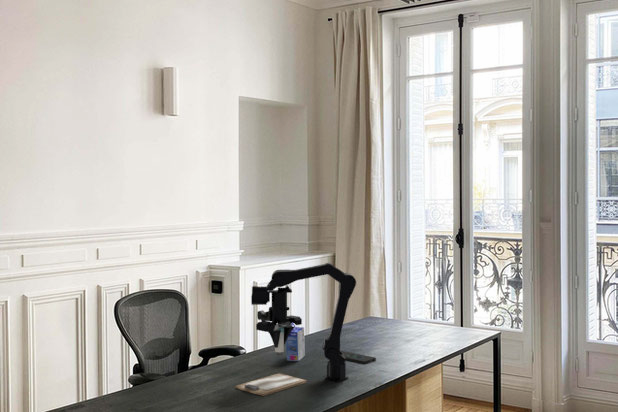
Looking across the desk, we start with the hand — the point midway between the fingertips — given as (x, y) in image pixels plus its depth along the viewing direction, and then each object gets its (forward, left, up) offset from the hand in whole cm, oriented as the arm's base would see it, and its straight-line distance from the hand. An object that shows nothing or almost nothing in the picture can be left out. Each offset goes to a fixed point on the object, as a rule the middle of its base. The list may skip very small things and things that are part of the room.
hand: (279, 346), depth 255 cm
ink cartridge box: (+17, -27, -13) cm, 34 cm away
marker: (0, 0, -3) cm, 3 cm away
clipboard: (-3, +7, -12) cm, 14 cm away
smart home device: (0, -43, -13) cm, 45 cm away
